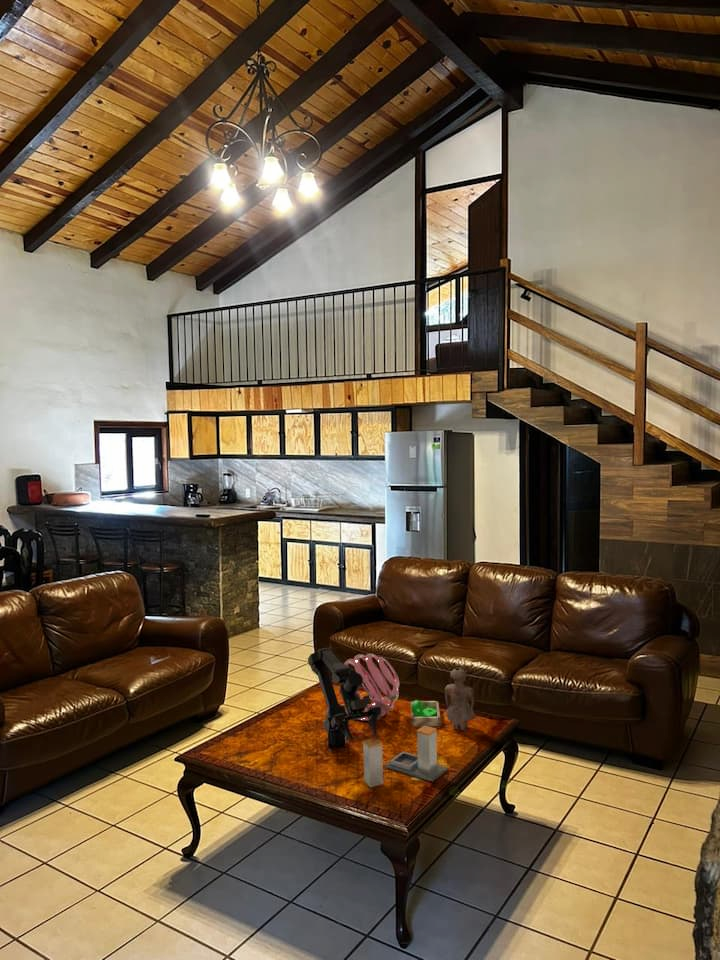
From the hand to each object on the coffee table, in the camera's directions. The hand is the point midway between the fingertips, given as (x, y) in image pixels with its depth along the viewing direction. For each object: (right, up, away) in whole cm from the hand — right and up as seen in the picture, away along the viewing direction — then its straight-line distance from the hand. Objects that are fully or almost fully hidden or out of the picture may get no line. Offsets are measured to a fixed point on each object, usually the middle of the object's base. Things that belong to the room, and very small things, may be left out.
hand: (363, 738), depth 254 cm
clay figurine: (+40, -9, +37) cm, 55 cm away
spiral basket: (+4, -9, +52) cm, 53 cm away
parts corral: (+27, -9, +49) cm, 56 cm away
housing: (+19, -12, +3) cm, 23 cm away
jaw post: (+3, -13, -6) cm, 15 cm away
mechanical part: (+27, -9, +49) cm, 57 cm away
